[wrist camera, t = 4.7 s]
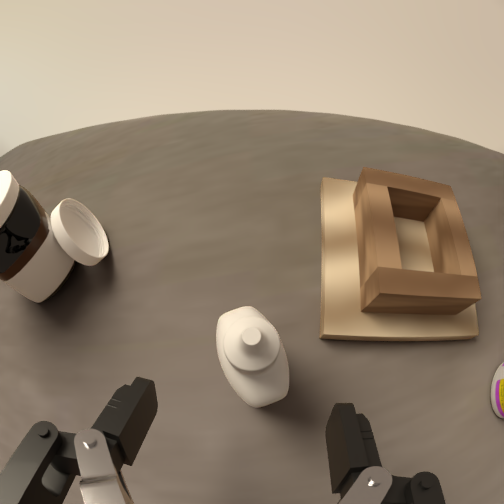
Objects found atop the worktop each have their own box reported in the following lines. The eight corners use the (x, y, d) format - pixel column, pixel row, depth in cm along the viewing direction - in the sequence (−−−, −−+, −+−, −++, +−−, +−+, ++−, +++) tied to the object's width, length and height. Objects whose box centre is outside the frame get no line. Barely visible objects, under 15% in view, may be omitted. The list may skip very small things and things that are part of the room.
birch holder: (469, 339, 21) (505, 321, 16) (319, 338, 22) (338, 319, 17) (443, 207, 29) (464, 178, 24) (320, 186, 30) (330, 148, 25)
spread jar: (15, 266, 25) (-46, 210, 15) (74, 200, 29) (30, 129, 19) (57, 335, 21) (-30, 284, 11) (129, 250, 26) (75, 163, 16)
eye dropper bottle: (218, 399, 19) (178, 398, 9) (230, 331, 22) (208, 260, 12) (275, 408, 19) (301, 417, 9) (285, 339, 22) (315, 274, 11)
